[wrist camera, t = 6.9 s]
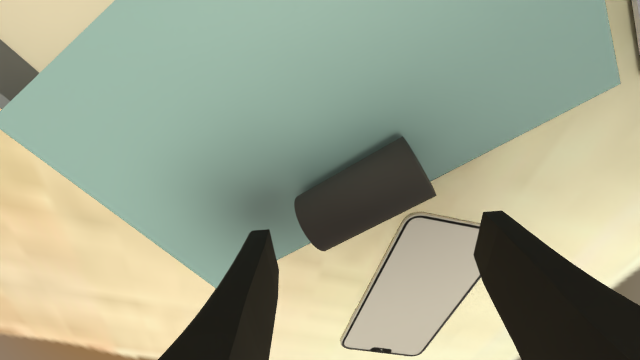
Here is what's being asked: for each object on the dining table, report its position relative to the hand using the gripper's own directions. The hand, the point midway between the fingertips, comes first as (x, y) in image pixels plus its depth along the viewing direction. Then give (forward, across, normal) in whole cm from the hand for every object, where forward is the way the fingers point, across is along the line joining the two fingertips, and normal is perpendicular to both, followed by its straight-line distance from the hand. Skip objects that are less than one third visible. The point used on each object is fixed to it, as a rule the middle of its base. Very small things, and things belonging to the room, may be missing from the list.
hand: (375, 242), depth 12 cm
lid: (+4, +2, -4) cm, 6 cm away
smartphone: (+8, -4, +14) cm, 16 cm away
